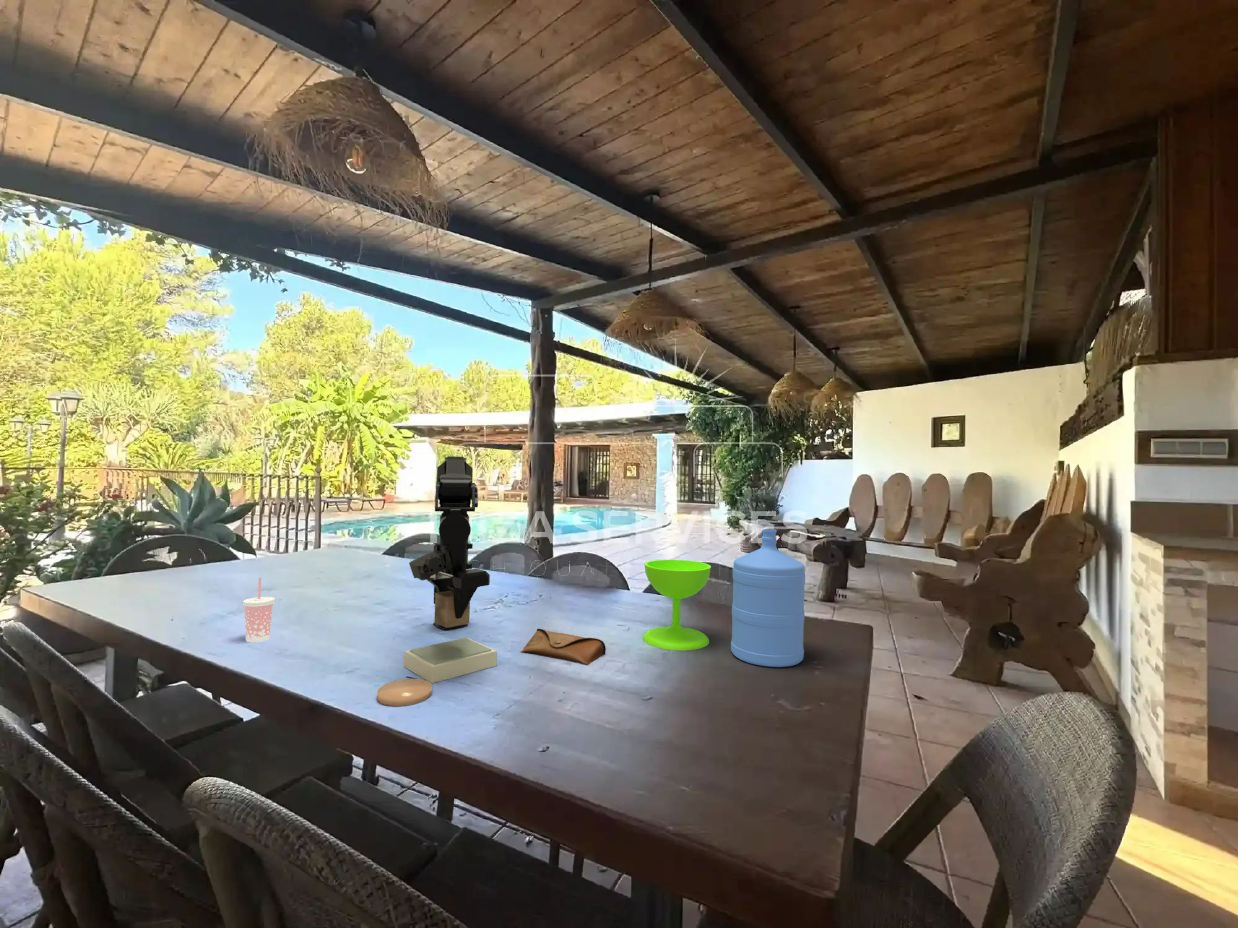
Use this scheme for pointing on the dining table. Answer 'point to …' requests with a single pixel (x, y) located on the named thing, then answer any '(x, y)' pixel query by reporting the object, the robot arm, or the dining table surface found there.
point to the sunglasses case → (565, 647)
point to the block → (448, 610)
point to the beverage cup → (258, 617)
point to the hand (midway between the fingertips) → (451, 615)
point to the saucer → (404, 692)
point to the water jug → (768, 606)
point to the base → (449, 659)
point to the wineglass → (676, 601)
